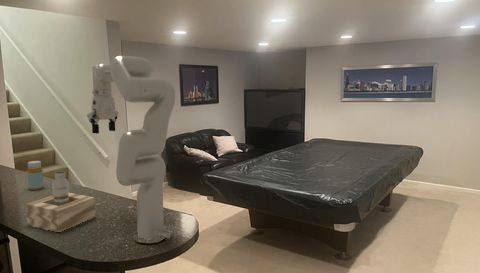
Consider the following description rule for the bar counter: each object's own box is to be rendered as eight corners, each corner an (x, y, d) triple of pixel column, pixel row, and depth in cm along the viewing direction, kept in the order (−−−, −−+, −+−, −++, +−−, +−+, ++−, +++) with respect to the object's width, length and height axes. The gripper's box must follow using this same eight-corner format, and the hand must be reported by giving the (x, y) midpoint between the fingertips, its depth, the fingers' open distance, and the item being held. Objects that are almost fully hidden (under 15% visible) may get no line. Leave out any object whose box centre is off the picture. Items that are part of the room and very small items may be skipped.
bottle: (30, 187, 188) (28, 160, 186) (44, 186, 190) (43, 160, 188) (27, 191, 182) (25, 163, 180) (41, 190, 184) (40, 163, 182)
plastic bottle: (54, 217, 144) (51, 171, 142) (72, 215, 147) (69, 170, 144) (52, 222, 138) (49, 175, 136) (70, 220, 141) (68, 173, 138)
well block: (95, 217, 148) (94, 197, 146) (59, 233, 131) (57, 211, 130) (65, 210, 154) (64, 191, 153) (27, 225, 138) (25, 203, 137)
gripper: (93, 93, 140) (95, 135, 142) (123, 93, 155) (124, 130, 158) (80, 93, 142) (82, 133, 145) (110, 93, 158) (111, 129, 161)
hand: (104, 132), depth 151 cm, fingers open, 9 cm apart
